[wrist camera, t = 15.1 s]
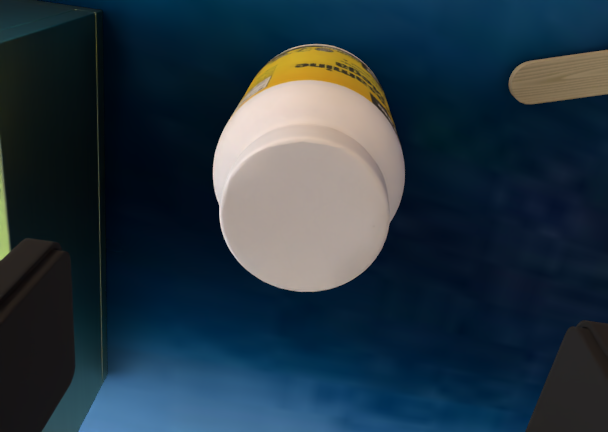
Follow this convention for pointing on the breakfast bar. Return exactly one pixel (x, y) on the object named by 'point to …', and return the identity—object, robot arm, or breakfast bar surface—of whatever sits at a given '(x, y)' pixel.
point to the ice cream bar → (560, 78)
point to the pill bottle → (309, 170)
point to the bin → (58, 167)
